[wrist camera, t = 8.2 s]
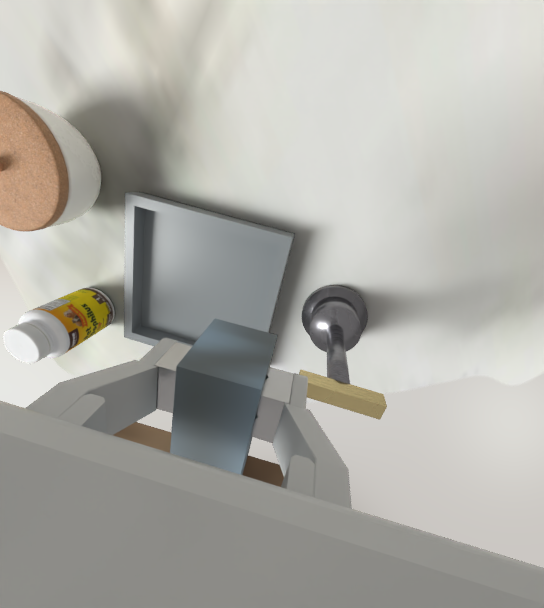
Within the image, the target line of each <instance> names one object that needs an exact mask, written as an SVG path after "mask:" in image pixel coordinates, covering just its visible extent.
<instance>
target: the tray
mask: <svg viewBox="0 0 544 608" xmlns="http://www.w3.org/2000/svg"><path fill="white" fill-rule="evenodd" d="M294 236H295V233H291V232H287V231H283V230H280V229H276V228H272V227H269V226H265V225H261V224H257V223H254V222H250V221H246V220H242V219H239V218H235V217H231V216H228V215H224V214H220V213H216V212H213V211H209V210H205V209H202V208H198V207H194V206H190V205H187V204H183V203H179V202H175V201H172V200H168V199H164V198H161V197H157V196H153V195H149V194H146V193H142V192H130V193H125V278H124V337H125V338H129V339H132V340H135V341H138V342H142V343H145V344H148V345H152V346H155V345H156V344H157V343H158V342H160V341H161V340H162V339H163V338H169V339H173V340H176V341H180V342H183V343H187V344H190V345H194V344H195V342H196V341H197V340H198V339H199V337H200V336H201V335H202V334H203V332H204V331H205V330H206V329H207V327H208V326H209V325H210V324H211V322H212V321H213V320H214V319H219V320H223V321H227V322H230V323H234V324H238V325H242V326H245V327H249V328H253V329H257V330H260V331H264V332H268V333H269V331H270V327H271V323H272V319H273V316H274V312H275V308H276V304H277V300H278V297H279V293H280V289H281V285H282V281H283V278H284V274H285V270H286V266H287V262H288V258H289V255H290V251H291V247H292V243H293V239H294Z"/></svg>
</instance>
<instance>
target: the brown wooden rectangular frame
mask: <svg viewBox="0 0 544 608" xmlns="http://www.w3.org/2000/svg"><path fill="white" fill-rule="evenodd" d="M276 339H277V335H275V334H272V333H268V332H264V331H260V330H257V329H253V328H249V327H245V326H242V325H238V324H234V323H230V322H227V321H223V320H219V319H214V320H213V321H212V322H211V324H210V325H209V326H208V327H207V329H206V330H205V331H204V332H203V334H202V335H201V336H200V337H199V339H198V340H197V341H196V342H195V344H194V345H193V346H192V347H191V349H190V350H189V351H188V352H187V354H186V355H185V356H184V357H183V359H182V360H181V361H180V362H179V364H178V365H177V366H176V379H175V392H174V406H173V420H172V433H171V432H167V431H164V430H161V429H157V428H154V427H151V426H147V425H144V424H140V423H137V422H134V423H133V424H131V425H129V426H128V427H126V428H124V429H122V430H121V431H119V432H117V433H115V434H114V435H113V436H116V437H120V438H123V439H126V440H129V441H133V442H136V443H139V444H142V445H146V446H149V447H152V448H155V449H159V450H162V451H165V452H168V453H172V454H175V455H178V456H181V457H185V458H188V459H191V460H194V461H198V462H201V463H204V464H208V465H211V466H214V467H217V468H220V469H224V470H227V471H230V472H233V473H237V474H240V475H243V476H246V477H250V478H253V479H256V480H259V481H263V482H266V483H269V484H272V485H275V486H279V487H281V485H282V482H283V479H284V476H283V473H282V470H281V467H280V465H278V464H275V463H271V462H268V461H265V460H261V459H258V458H255V457H251V456H248V453H249V449H250V444H251V440H252V436H251V433H252V429H253V425H254V420H255V417H256V412H257V408H258V404H259V400H260V396H261V392H262V389H263V386H264V382H265V380H266V376H267V372H268V369H269V367H270V364H271V360H272V356H273V352H274V348H275V344H276Z"/></svg>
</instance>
